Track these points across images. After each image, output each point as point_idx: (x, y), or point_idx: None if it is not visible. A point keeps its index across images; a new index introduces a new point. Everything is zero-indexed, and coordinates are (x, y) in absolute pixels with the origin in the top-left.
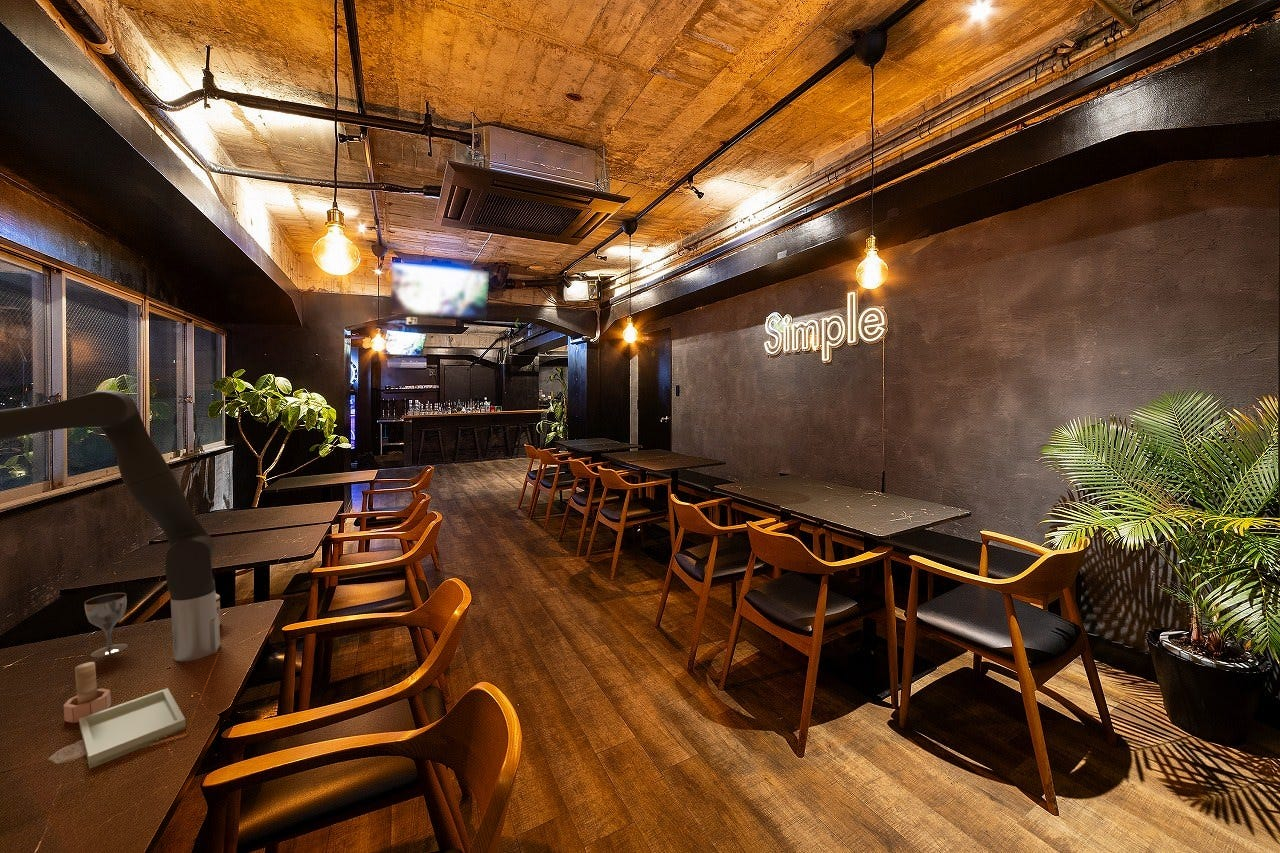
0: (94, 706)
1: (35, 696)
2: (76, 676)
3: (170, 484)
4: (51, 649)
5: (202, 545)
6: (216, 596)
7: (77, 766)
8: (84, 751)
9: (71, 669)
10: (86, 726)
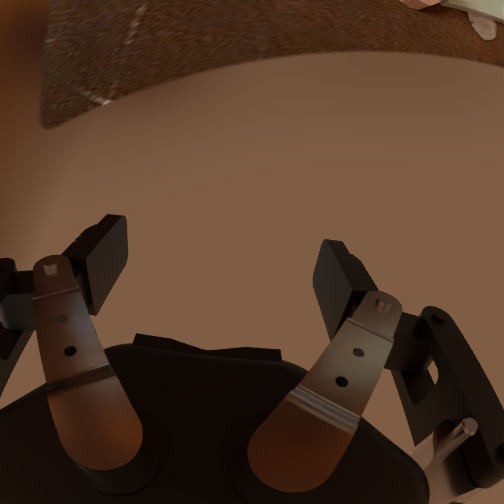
0: None
1: (292, 30)
2: None
3: None
4: (77, 69)
5: None
6: None
7: (500, 28)
8: (489, 18)
9: (202, 5)
10: (470, 5)
